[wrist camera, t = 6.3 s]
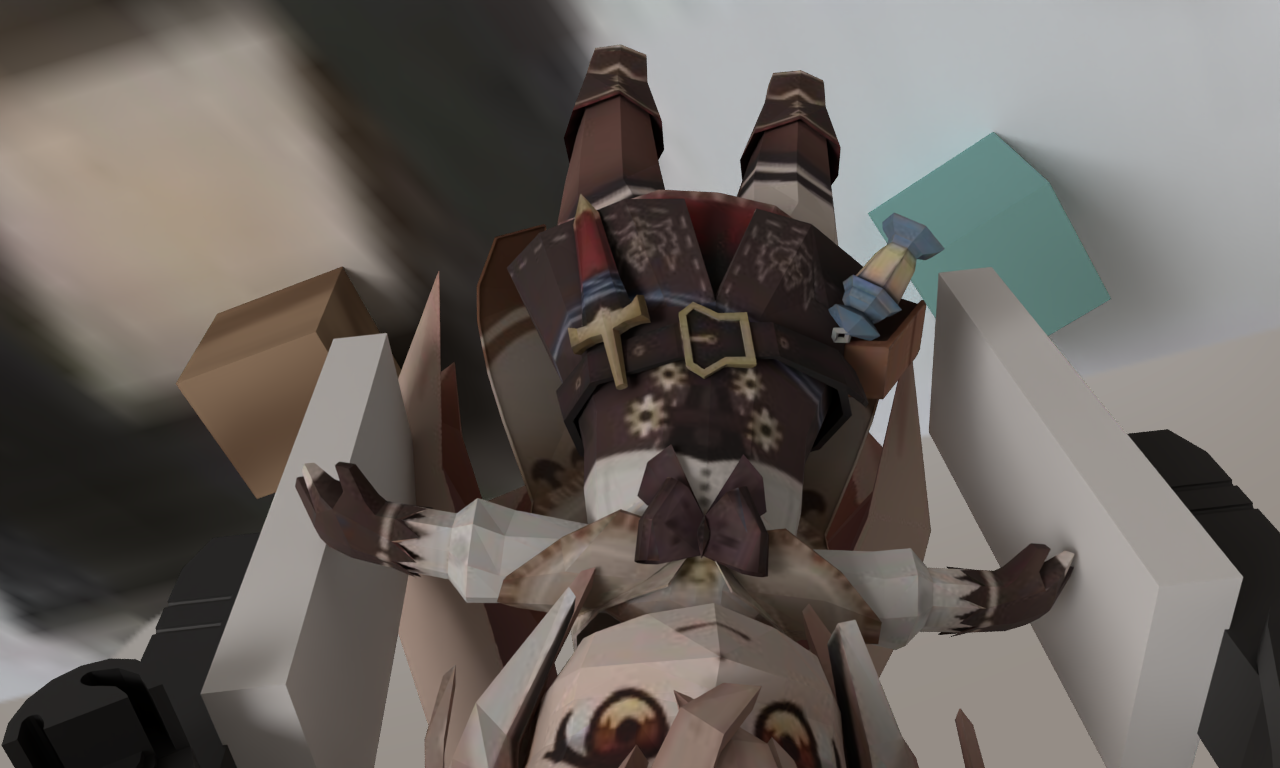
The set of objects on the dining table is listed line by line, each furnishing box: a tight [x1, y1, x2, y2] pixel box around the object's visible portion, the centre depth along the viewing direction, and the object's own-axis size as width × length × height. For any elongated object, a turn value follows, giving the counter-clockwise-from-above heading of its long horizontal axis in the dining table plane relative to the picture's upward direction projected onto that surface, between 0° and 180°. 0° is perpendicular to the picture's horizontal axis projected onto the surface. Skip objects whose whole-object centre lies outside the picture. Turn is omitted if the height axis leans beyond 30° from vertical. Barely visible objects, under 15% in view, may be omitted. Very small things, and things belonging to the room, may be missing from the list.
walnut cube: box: [176, 267, 401, 499], centre depth 38 cm, size 5×5×5 cm
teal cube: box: [868, 132, 1111, 336], centre depth 37 cm, size 5×5×5 cm
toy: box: [295, 45, 1074, 768], centre depth 13 cm, size 9×8×15 cm
